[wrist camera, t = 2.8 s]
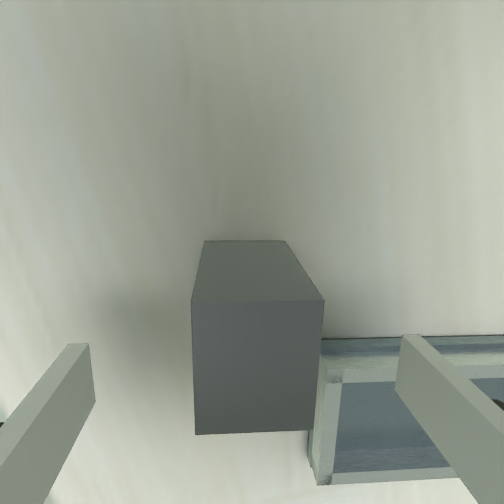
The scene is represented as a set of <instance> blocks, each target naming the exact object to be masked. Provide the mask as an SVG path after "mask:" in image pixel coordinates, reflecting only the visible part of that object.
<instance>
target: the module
mask: <svg viewBox="0 0 504 504" xmlns="http://www.w3.org/2000/svg"><path fill="white" fill-rule="evenodd" d="M323 310H324V299H323V298H322V296H321V295H320V293H319V292H318V290H317V288H316V287H315V285H314V284H313V282H312V281H311V279H310V278H309V276H308V275H307V273H306V272H305V270H304V269H303V267H302V266H301V264H300V263H299V261H298V260H297V258H296V257H295V255H294V254H293V252H292V251H291V249H290V248H289V246H288V245H287V243H286V242H285V241H204V245H203V250H202V254H201V259H200V263H199V268H198V272H197V277H196V281H195V286H194V290H193V295H192V299H191V323H192V353H193V383H194V412H195V435H206V434H229V433H252V432H275V431H298V430H314V419H315V407H316V395H317V383H318V370H319V358H320V346H321V334H322V322H323Z"/></svg>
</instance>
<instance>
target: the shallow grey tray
mask: <svg viewBox="0 0 504 504" xmlns="http://www.w3.org/2000/svg"><path fill="white" fill-rule="evenodd" d="M422 338H424V339H425V340H426V341H427V342H428V343H429V344H430V345H431V346H432V347H433V348H435V349H436V350H437V351H438V352H439V353H440V354H441V355H442V356H443V357H445V358H446V359H447V360H448V361H449V362H450V363H451V364H452V365H453V366H455V367H456V368H457V369H458V370H459V371H460V372H461V373H462V374H463V375H464V376H466V377H467V378H468V379H469V380H470V381H471V382H472V383H473V384H474V385H476V386H477V387H478V388H479V389H480V390H481V391H482V392H483V393H484V394H485V395H487V396H488V397H489V398H490V399H498V400H499V401H501V402H503V403H504V336H462V337H422ZM401 340H402V338H377V339H334V340H321V346H320V358H319V370H318V383H317V395H316V407H315V419H314V430H309V443H308V455H307V456H308V460H309V463H310V467H312V469H313V473H314V476H315V480H316V483H317V486H318V485H336V484H354V483H372V482H389V481H407V480H425V479H443V478H459V477H458V475H457V474H456V473H455V471H454V470H453V468H452V467H451V466H450V464H449V463H448V462H447V460H446V459H445V458H444V456H443V455H442V454H441V452H440V451H439V449H438V448H437V447H436V445H435V444H434V443H433V441H432V440H431V439H430V437H429V436H428V435H427V433H426V432H425V431H424V429H423V428H422V426H421V425H420V424H419V422H418V421H417V420H416V418H415V417H414V416H413V414H412V413H411V412H410V410H409V409H408V408H407V406H406V405H405V403H404V402H403V401H402V399H401V398H400V397H399V395H398V394H397V393H396V391H395V390H394V388H395V381H396V374H397V367H398V360H399V353H400V346H401Z"/></svg>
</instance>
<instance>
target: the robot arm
mask: <svg viewBox="0 0 504 504" xmlns="http://www.w3.org/2000/svg"><path fill="white" fill-rule="evenodd" d="M394 390H395V391H396V393H397V394H398V395H399V397H400V398H401V399H402V401H403V402H404V403H405V405H406V406H407V408H408V409H409V410H410V412H411V413H412V414H413V416H414V417H415V418H416V420H417V421H418V422H419V424H420V425H421V426H422V428H423V429H424V431H425V432H426V433H427V435H428V436H429V437H430V439H431V440H432V441H433V443H434V444H435V445H436V447H437V448H438V449H439V451H440V452H441V454H442V455H443V456H444V458H445V459H446V460H447V462H448V463H449V464H450V466H451V467H452V468H453V470H454V471H455V473H456V474H457V475H458V477H459V478H460V479H461V481H462V482H463V483H464V485H465V486H466V487H467V489H468V490H469V491H470V493H471V494H472V496H473V497H474V498H475V500H476V501H477V502H478V504H504V403H503V402H501V401H499V400H498V399H490V398H489V397H488V396H487V395H485V394H484V393H483V392H482V391H481V390H480V389H479V388H478V387H477V386H476V385H474V384H473V383H472V382H471V381H470V380H469V379H468V378H467V377H466V376H464V375H463V374H462V373H461V372H460V371H459V370H458V369H457V368H456V367H455V366H453V365H452V364H451V363H450V362H449V361H448V360H447V359H446V358H445V357H443V356H442V355H441V354H440V353H439V352H438V351H437V350H436V349H435V348H433V347H432V346H431V345H430V344H429V343H428V342H427V341H426V340H425V339H424V338H422V337H421V336H420V335H419V334H418V335H402V340H401V346H400V353H399V360H398V367H397V374H396V381H395V388H394ZM95 402H96V401H95V393H94V384H93V376H92V368H91V359H90V351H89V343H86V344H68V345H67V347H66V348H65V349H64V350H63V352H62V353H61V354H60V355H59V357H58V358H57V359H56V360H55V361H54V363H53V364H52V365H51V366H50V368H49V369H48V370H47V371H46V372H45V374H44V375H43V376H42V377H41V379H40V380H39V381H38V382H37V383H36V385H35V386H34V387H33V388H32V390H31V391H30V392H29V393H28V395H27V396H26V397H25V398H24V399H23V401H22V402H21V403H20V404H19V406H18V407H17V408H16V409H15V410H14V412H13V413H12V414H11V415H10V417H9V418H8V419H7V420H6V422H0V504H43V503H44V501H45V499H46V497H47V495H48V493H49V491H50V489H51V488H52V486H53V484H54V482H55V480H56V478H57V476H58V474H59V472H60V470H61V468H62V466H63V464H64V462H65V460H66V458H67V456H68V454H69V453H70V451H71V449H72V447H73V445H74V443H75V441H76V439H77V437H78V435H79V433H80V431H81V429H82V427H83V425H84V423H85V421H86V419H87V418H88V416H89V414H90V412H91V410H92V408H93V406H94V404H95Z"/></svg>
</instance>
